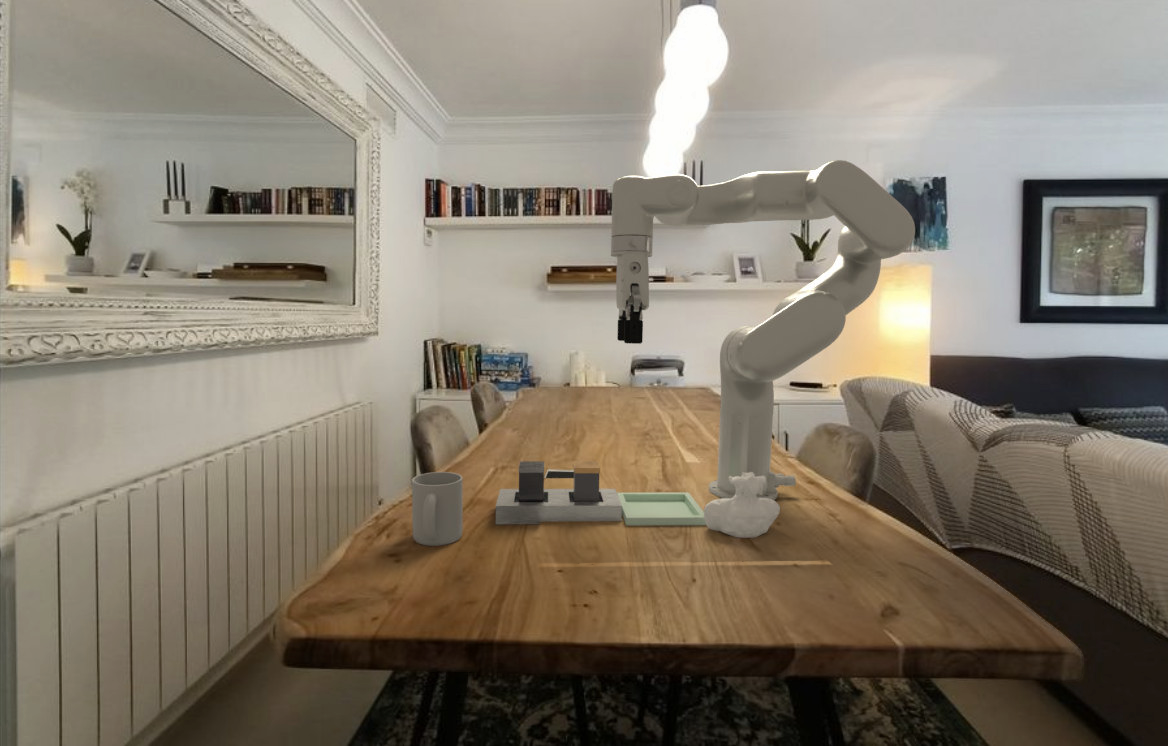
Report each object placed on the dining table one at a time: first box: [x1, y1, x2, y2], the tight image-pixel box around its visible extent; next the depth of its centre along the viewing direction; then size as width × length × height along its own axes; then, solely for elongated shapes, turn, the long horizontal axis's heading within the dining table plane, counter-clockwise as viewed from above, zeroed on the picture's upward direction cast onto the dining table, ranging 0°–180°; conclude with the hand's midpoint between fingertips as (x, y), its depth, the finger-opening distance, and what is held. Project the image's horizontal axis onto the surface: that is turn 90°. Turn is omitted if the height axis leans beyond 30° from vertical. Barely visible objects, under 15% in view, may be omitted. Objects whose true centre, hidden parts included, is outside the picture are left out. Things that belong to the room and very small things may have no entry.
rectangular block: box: [572, 461, 601, 502], centre depth 98 cm, size 4×4×8 cm
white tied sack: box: [703, 472, 781, 539], centre depth 90 cm, size 12×8×11 cm
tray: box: [617, 491, 707, 526], centre depth 99 cm, size 13×13×2 cm
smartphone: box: [544, 468, 574, 479], centre depth 117 cm, size 7×16×1 cm, turn 178°
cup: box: [411, 471, 464, 547], centre depth 86 cm, size 7×10×9 cm
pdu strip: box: [495, 460, 623, 525], centre depth 98 cm, size 20×9×8 cm, turn 94°
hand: (629, 341), depth 109 cm, fingers open, 9 cm apart
